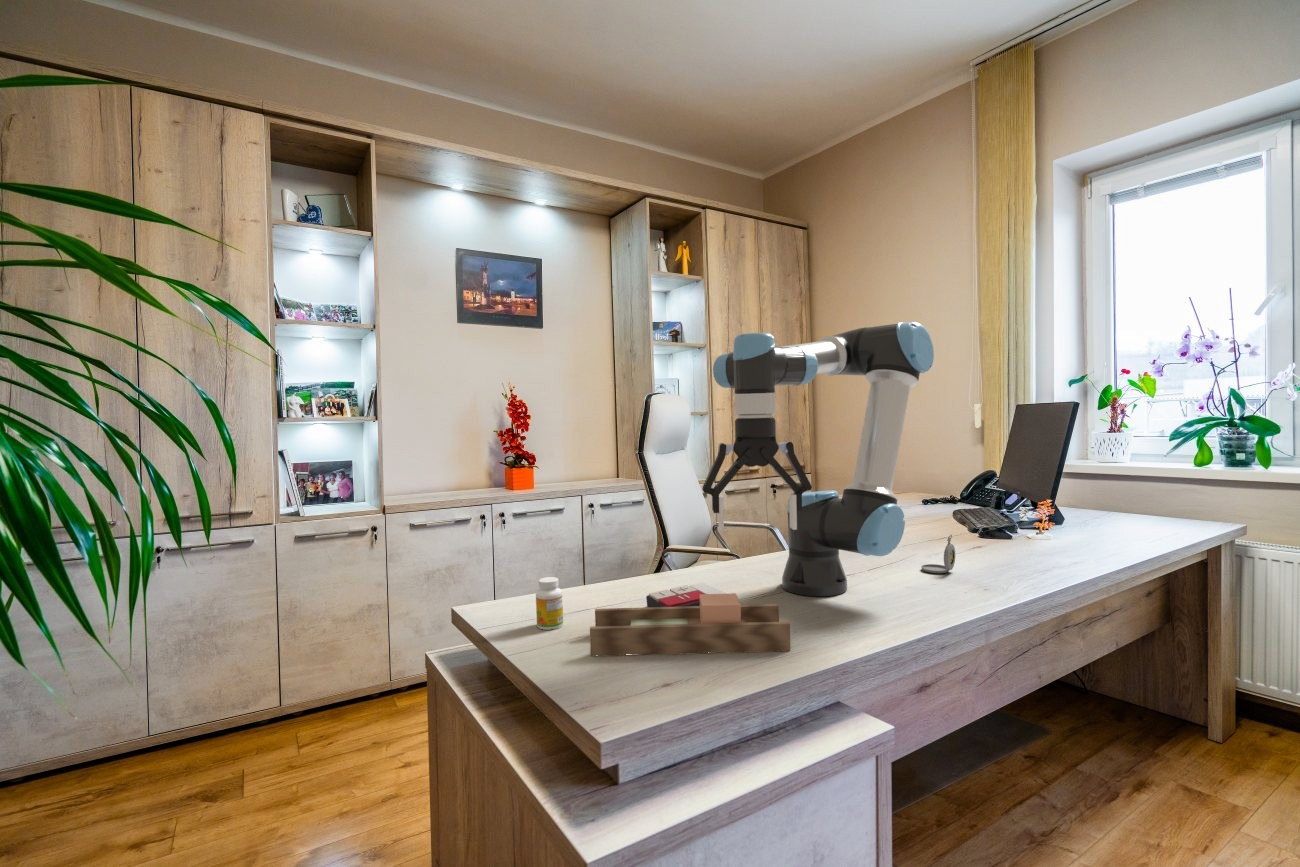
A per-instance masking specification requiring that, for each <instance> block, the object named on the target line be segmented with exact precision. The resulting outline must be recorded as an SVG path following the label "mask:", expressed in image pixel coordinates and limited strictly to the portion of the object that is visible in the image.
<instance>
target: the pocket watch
mask: <svg viewBox="0 0 1300 867" xmlns="http://www.w3.org/2000/svg"><path fill="white" fill-rule="evenodd" d="M952 537H953V535H952V534H949V536H948V538H947V545H946V546H945V549H944V551H943V552H944V553H943V564H944V565H942V564H935V563H930V564H929V563H928V564H923V565H921V567H920V569H921V570H922V571H923V572H926V573H932V574H944V573H945V574H947V573H948V572H950V571H952V570H953V569H954V567H955V563H956V549H955V545H954V544H953V543H951V542H952V541H951V540H952Z"/></svg>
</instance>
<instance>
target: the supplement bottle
mask: <svg viewBox="0 0 1300 867" xmlns="http://www.w3.org/2000/svg"><path fill="white" fill-rule="evenodd" d="M559 584H560V583H559V578H558V577H556V576H547V577H546V576H545V577H541V578H540V579H539V580H538V587H539V589H537V591H536V593H535V607H536V609H535V610H536V626H537V628H538V629H540V630H542V629H543V630H544V631H551V629H553V630H557V629H560V628H561V627H562V626H563V625H564V606H563V605H564V604H563V591H562V589H561V588H559ZM559 627H560V628H559Z"/></svg>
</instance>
